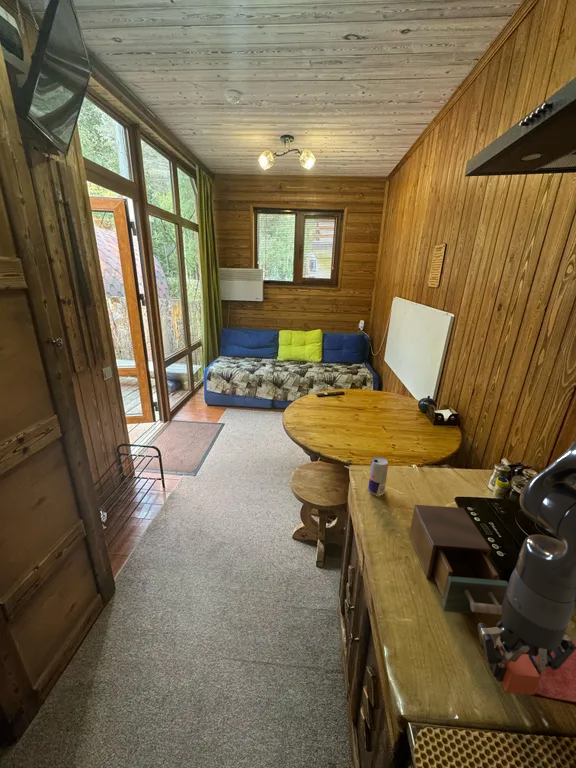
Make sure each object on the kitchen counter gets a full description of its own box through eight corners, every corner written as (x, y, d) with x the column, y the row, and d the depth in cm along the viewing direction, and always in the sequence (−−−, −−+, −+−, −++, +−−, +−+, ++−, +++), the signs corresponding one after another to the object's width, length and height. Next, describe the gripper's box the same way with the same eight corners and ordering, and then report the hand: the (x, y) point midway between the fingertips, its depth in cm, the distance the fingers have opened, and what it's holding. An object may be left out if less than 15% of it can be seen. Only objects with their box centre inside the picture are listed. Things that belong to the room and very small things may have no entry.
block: (516, 663, 54) (522, 646, 53) (534, 695, 50) (540, 677, 48) (490, 661, 54) (495, 643, 53) (505, 692, 50) (511, 674, 49)
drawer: (512, 638, 60) (523, 606, 57) (452, 632, 60) (460, 601, 58) (471, 564, 75) (478, 537, 73) (423, 560, 76) (428, 533, 74)
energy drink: (366, 486, 106) (369, 455, 102) (382, 487, 106) (385, 456, 102) (369, 496, 101) (373, 464, 97) (386, 497, 100) (390, 465, 97)
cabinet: (482, 583, 72) (491, 549, 69) (426, 578, 72) (433, 545, 69) (456, 538, 85) (463, 507, 81) (409, 534, 85) (414, 504, 82)
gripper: (567, 583, 50) (540, 654, 55) (475, 576, 51) (457, 647, 56) (610, 632, 43) (574, 709, 48) (502, 624, 44) (479, 700, 49)
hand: (511, 676), depth 52 cm, fingers closed on block, 4 cm apart
